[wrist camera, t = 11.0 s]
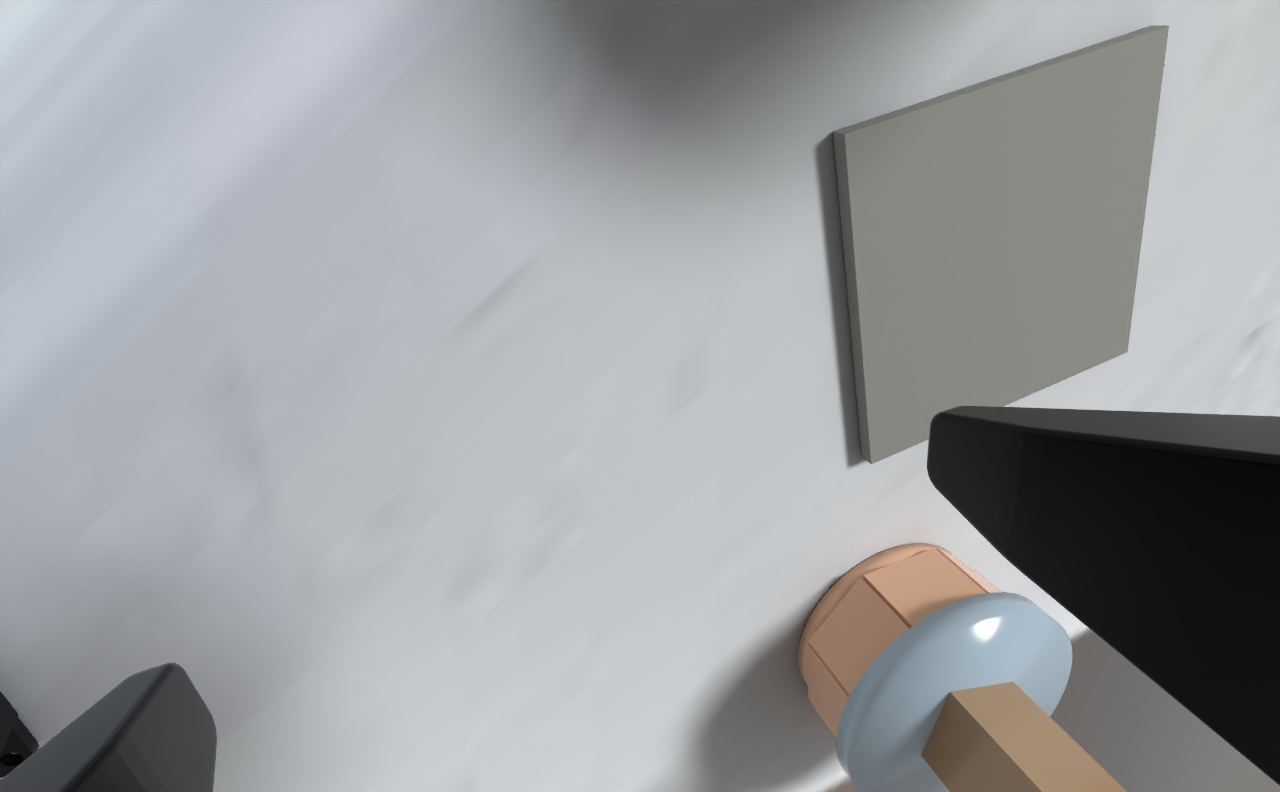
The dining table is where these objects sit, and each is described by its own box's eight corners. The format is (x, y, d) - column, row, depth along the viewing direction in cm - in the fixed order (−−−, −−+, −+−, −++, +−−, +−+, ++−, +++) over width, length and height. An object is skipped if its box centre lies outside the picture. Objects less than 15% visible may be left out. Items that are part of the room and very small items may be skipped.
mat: (861, 456, 28) (871, 464, 27) (832, 131, 22) (844, 134, 21) (1114, 346, 30) (1127, 351, 29) (1151, 25, 24) (1168, 25, 23)
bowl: (800, 724, 33) (851, 802, 30) (795, 583, 29) (854, 655, 26) (956, 658, 36) (1020, 723, 32) (972, 517, 31) (1048, 575, 28)
